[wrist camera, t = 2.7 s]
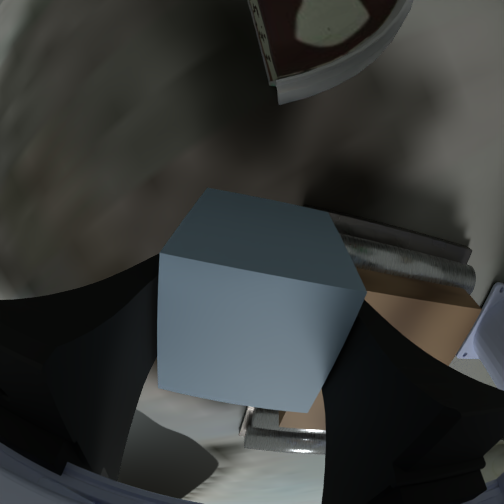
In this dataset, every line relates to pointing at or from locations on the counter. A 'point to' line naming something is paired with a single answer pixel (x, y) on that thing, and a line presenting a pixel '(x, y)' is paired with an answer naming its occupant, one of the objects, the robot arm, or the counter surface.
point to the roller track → (392, 240)
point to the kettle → (494, 462)
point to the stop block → (254, 302)
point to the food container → (322, 40)
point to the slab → (407, 325)
